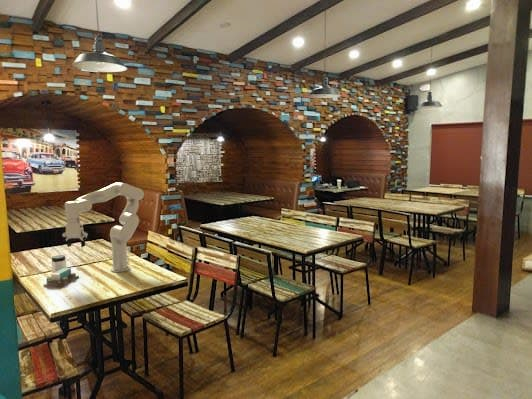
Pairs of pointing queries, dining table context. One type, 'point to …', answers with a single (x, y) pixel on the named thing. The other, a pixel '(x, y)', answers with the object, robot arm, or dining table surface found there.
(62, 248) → the dining table surface
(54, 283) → the cradle
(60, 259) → the jar
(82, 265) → the dining table surface
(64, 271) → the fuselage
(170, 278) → the dining table surface
